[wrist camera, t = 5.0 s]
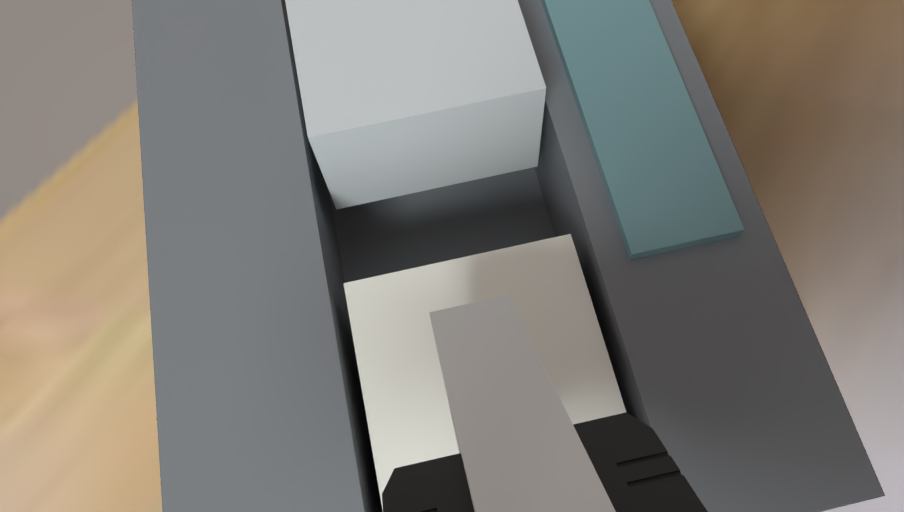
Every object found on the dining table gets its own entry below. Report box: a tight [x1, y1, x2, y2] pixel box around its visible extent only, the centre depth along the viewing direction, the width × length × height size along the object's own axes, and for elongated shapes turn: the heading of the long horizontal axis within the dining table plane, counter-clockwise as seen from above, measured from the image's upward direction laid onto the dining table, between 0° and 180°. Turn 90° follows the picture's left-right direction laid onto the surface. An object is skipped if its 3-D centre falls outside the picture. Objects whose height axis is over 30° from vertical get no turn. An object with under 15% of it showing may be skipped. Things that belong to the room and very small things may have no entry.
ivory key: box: [343, 234, 626, 510], centre depth 17 cm, size 5×5×3 cm
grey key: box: [285, 0, 546, 209], centre depth 18 cm, size 5×5×3 cm
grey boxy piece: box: [132, 0, 885, 512], centre depth 22 cm, size 23×13×8 cm, turn 12°
